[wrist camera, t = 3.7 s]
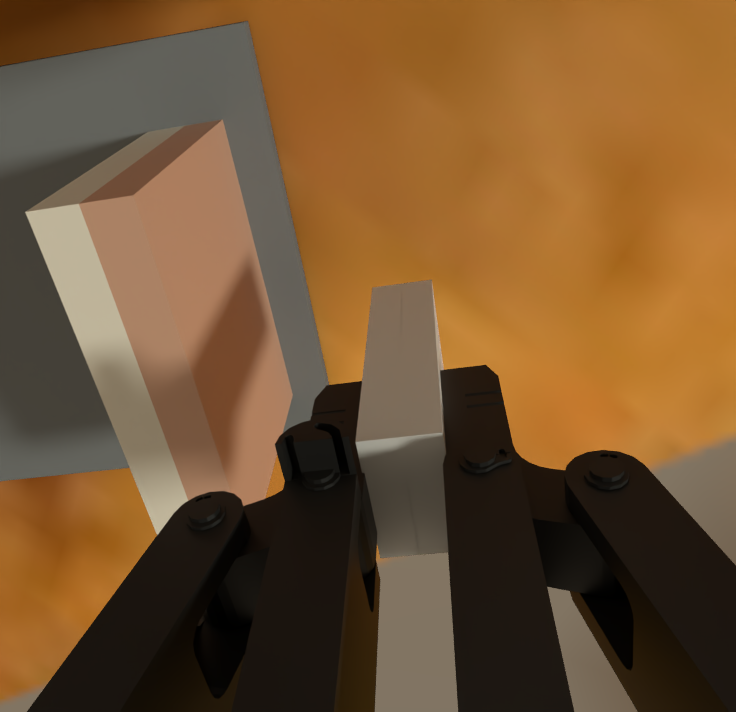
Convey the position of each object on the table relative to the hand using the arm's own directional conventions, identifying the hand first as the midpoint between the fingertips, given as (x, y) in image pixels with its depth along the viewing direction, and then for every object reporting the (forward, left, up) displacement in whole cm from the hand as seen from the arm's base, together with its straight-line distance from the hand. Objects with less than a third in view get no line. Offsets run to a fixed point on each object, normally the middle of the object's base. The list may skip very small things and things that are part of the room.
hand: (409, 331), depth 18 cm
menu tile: (0, -6, -6) cm, 8 cm away
